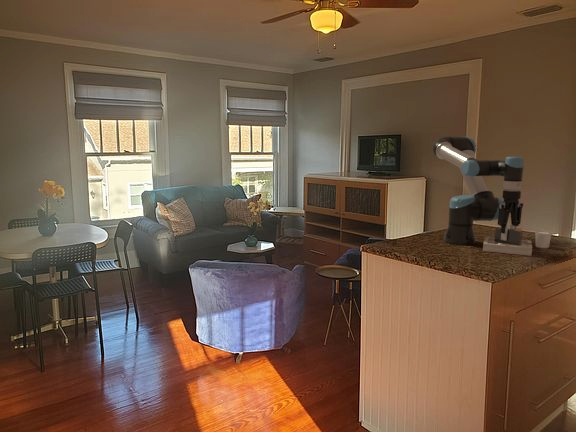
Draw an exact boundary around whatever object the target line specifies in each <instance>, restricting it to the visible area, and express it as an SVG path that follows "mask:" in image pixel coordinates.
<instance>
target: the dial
mask: <svg viewBox="0 0 576 432" xmlns="http://www.w3.org/2000/svg"><path fill="white" fill-rule="evenodd" d="M494 231H495V232H494V237H495V241H494V244H500V245H506V244H509V245H511V246H522V244H521V241H522V240H523V238H522V237H523V228H519V227H516V230H514V229H510V228H508V230H507V240H506V241H505V240H501V227H500V226H499V227H495V230H494Z"/></svg>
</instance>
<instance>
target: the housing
mask: <svg viewBox="0 0 576 432" xmlns="http://www.w3.org/2000/svg"><path fill="white" fill-rule="evenodd" d="M494 241H495V236H485V237H484V241H483V245H482V251H483V252H489V253H501V254H508V255H509V254H510V255H518V256H527V257H528V256H529V257H532V253H533V243H532V240H530V239H529V240H528V239H522V241H521V244H522V246H511V245H509V244H506V245H500V244H494Z"/></svg>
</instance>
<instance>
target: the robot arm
mask: <svg viewBox="0 0 576 432" xmlns="http://www.w3.org/2000/svg"><path fill="white" fill-rule="evenodd" d="M476 147H477V145H476V143H475V140H474V139H473V138H471V137H470V136H441V137H439V138H437V139H436V140H435V141H434V142H433V144H432V146H431V152H432V153H433V155H434V156H435V157H436V158H438V159H440V160H445V161H447V162H449V163H450V164H452V165H454V166H456V167H457V168H458V169H459V171H460V173H461V176H462V178H463V180H464V182H465V185H466V187H467V190H468V192H469V194H465V195H464V194H463V195H461V194H460V195H454V196H453V197H451V198H450V201H449V206H448V207H449V208H448V209H449V211H448V224H447V228H446V231H445V233H444V236H443V241H444V242H445V243H449V244H453V245H461V246H462V245H468V246H469V245H475V244H476V241H477V238H476V234H475V230H474V222H478V221H479V222H481V221H482V222H483V221H484V222H485V221H487V222H491V221H497V225H498V226H499V227H500V228H501V240H505V241H506V240H507V230H508V229H514V230H516V229H517V227H519V225H521V223H522V222H521V220H522V213H523V211H522V210H523V207H524V203H521V202H520V201H519V200H521V196H522V192H521V190H522V182H523V174H524V168H525V167H524V166H525V165H524V160H525V159H524V157H522V156H506V157H505V160H504V159H503V160H501V159H491V160H490V159H487V160H485V159H484V160H483V159H482V160H481V159H477V158H474V157H475V154H476V152H477V148H476ZM483 177H504V178H503V186H502V189H503V191H502V199H501V198H500V197H495V194H494V193H493V191H492V190H489V189H488V188H487V185H486V183H485V181H484V178H483ZM509 218H510V223H511V224H510V225H509V227H508V226H507V225H508V222H509Z"/></svg>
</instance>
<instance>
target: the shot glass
mask: <svg viewBox="0 0 576 432" xmlns="http://www.w3.org/2000/svg"><path fill="white" fill-rule="evenodd" d="M551 238H552V233H551V232H547V231H535V239H534V240H535V247H536V248H540V249H549V248H550V243H551Z"/></svg>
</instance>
